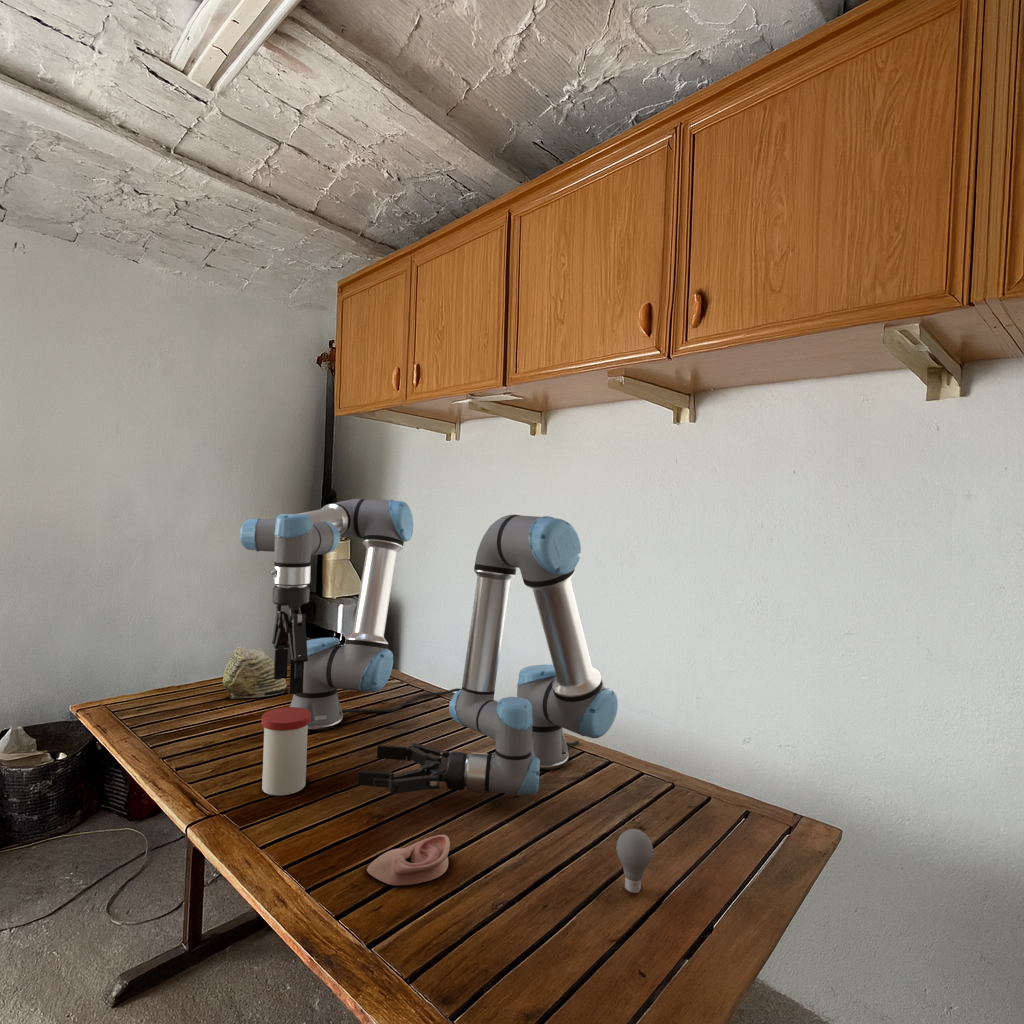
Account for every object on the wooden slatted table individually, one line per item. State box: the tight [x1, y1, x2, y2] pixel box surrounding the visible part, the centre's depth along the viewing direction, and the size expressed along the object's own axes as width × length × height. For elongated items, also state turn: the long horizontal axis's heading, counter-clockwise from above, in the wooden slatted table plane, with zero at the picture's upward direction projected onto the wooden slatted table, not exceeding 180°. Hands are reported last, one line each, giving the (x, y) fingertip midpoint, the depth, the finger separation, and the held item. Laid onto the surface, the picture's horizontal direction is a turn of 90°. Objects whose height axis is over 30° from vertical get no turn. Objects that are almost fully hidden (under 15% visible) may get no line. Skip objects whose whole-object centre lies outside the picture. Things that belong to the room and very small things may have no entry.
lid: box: [261, 706, 311, 731], centre depth 138 cm, size 10×10×2 cm
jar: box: [261, 725, 309, 796], centre depth 138 cm, size 9×9×15 cm
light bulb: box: [615, 828, 654, 894], centre depth 106 cm, size 6×6×10 cm
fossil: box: [222, 646, 288, 699], centre depth 198 cm, size 9×18×15 cm, turn 132°
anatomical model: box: [366, 834, 451, 886], centre depth 109 cm, size 13×4×12 cm
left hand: (287, 685), depth 138 cm, fingers open, 11 cm apart
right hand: (368, 764), depth 136 cm, fingers open, 13 cm apart
